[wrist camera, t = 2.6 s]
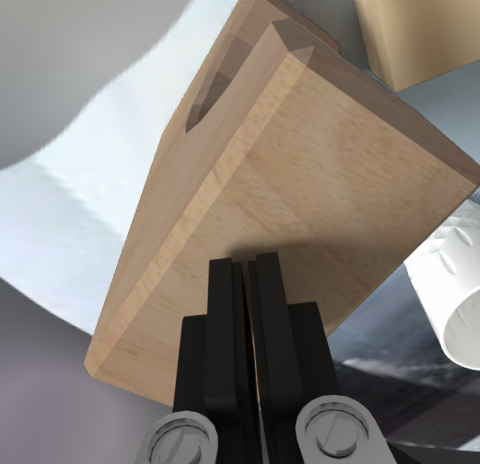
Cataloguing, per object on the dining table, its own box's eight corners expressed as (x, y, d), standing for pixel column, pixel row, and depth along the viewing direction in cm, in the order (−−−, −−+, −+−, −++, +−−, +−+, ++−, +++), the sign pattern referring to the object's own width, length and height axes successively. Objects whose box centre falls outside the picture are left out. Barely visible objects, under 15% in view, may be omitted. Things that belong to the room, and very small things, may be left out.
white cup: (462, 280, 37) (531, 378, 29) (373, 265, 36) (418, 362, 28) (513, 198, 33) (610, 284, 25) (414, 178, 32) (481, 260, 24)
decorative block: (252, -25, 25) (306, 33, 8) (330, 36, 27) (506, 186, 10) (157, 134, 30) (68, 377, 13) (229, 177, 32) (232, 439, 15)
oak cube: (438, -53, 25) (481, -53, 21) (451, 38, 27) (492, 54, 23) (349, -13, 26) (374, -6, 21) (370, 71, 28) (395, 92, 24)
